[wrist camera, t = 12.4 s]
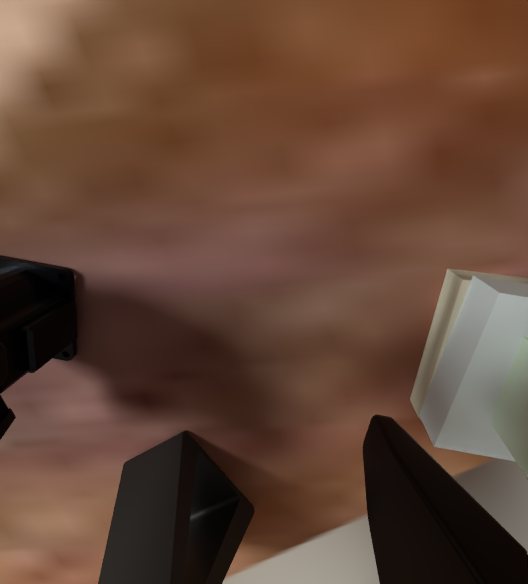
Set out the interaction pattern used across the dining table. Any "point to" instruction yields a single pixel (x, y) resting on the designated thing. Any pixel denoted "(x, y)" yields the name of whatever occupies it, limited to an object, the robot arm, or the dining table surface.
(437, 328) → the base slab
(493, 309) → the top slab
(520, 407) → the pillar
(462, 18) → the dining table surface
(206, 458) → the phone stand
